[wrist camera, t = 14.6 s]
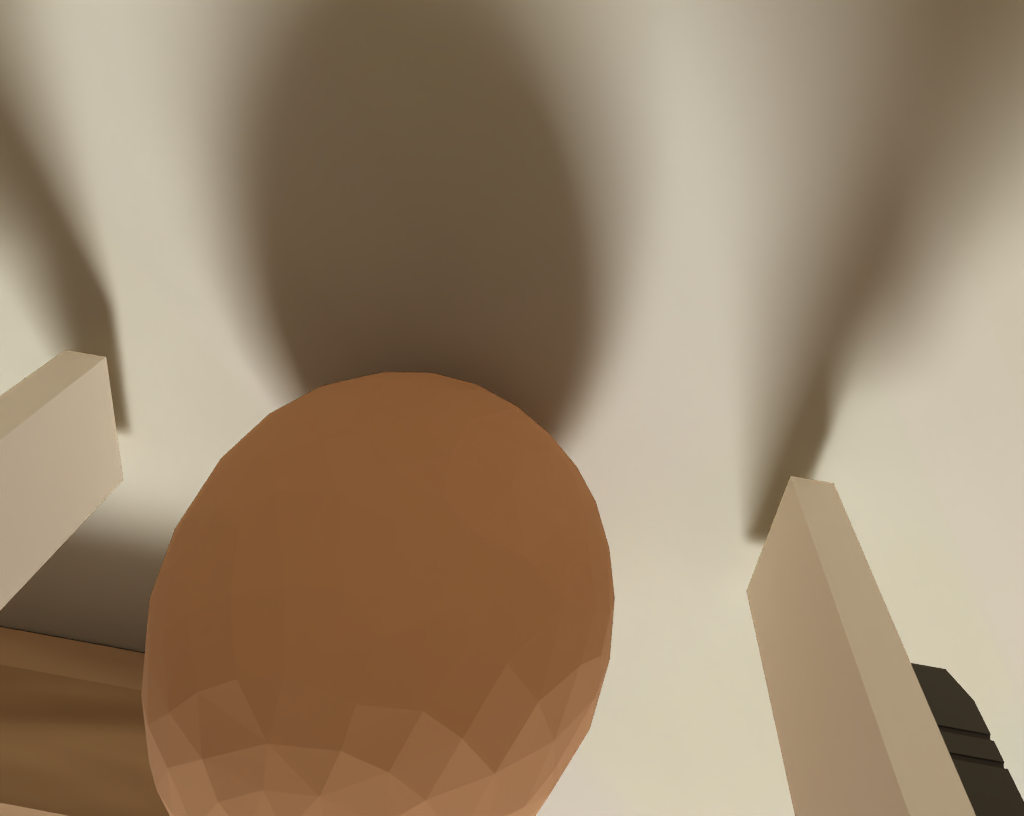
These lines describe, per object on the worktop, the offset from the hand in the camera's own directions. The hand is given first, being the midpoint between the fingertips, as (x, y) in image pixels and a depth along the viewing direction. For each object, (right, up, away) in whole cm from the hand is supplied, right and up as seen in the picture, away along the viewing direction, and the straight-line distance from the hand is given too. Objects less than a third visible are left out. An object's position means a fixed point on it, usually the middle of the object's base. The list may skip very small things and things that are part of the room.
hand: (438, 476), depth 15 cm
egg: (0, 0, +1) cm, 1 cm away
